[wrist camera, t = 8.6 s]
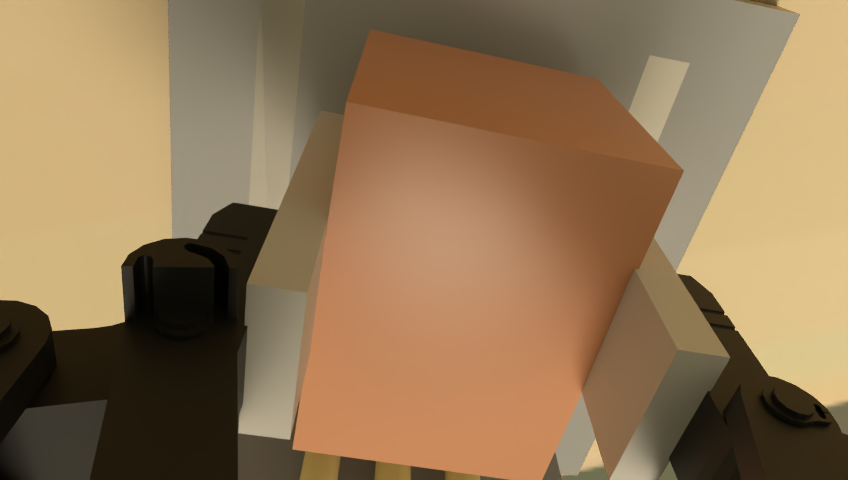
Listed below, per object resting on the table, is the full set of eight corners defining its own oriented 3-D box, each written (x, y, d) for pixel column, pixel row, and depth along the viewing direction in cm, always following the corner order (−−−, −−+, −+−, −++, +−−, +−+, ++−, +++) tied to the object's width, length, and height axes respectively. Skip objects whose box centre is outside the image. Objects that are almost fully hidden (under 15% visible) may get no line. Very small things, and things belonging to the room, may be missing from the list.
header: (182, -123, 13) (-15, -120, 7) (777, 6, 15) (1024, 97, 9) (186, 401, 21) (93, 608, 15) (571, 452, 23) (624, 660, 17)
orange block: (370, 28, 13) (346, 101, 8) (597, 78, 13) (684, 170, 9) (326, 298, 16) (292, 449, 12) (508, 329, 17) (540, 483, 12)
